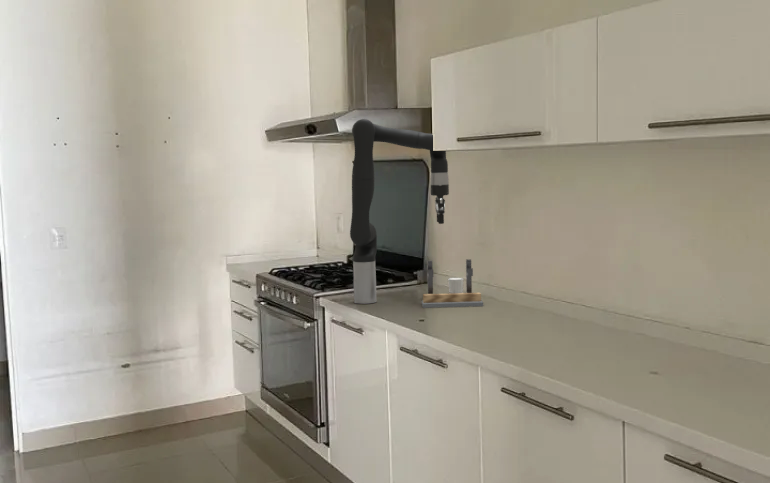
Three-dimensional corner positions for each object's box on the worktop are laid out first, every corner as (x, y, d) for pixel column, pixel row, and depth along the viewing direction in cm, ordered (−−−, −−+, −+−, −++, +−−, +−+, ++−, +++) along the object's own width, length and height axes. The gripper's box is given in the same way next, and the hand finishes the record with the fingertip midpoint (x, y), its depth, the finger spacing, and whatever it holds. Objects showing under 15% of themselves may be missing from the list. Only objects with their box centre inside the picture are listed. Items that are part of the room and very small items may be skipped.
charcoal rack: (427, 303, 309) (426, 262, 308) (426, 301, 315) (426, 260, 314) (474, 302, 309) (473, 261, 308) (472, 299, 316) (472, 259, 314)
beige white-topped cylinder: (466, 295, 327) (465, 279, 326) (450, 296, 325) (450, 280, 324) (460, 292, 333) (460, 277, 333) (446, 293, 332) (445, 277, 331)
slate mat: (422, 307, 301) (422, 304, 301) (421, 304, 309) (421, 300, 309) (483, 306, 301) (483, 302, 301) (480, 302, 309) (480, 298, 309)
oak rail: (423, 302, 304) (423, 295, 303) (423, 301, 307) (423, 294, 306) (481, 301, 304) (481, 293, 304) (480, 299, 307) (480, 292, 307)
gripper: (429, 183, 321) (430, 221, 323) (431, 184, 307) (432, 224, 309) (447, 183, 321) (447, 221, 323) (450, 184, 307) (450, 224, 309)
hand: (440, 222), depth 316 cm, fingers open, 8 cm apart
